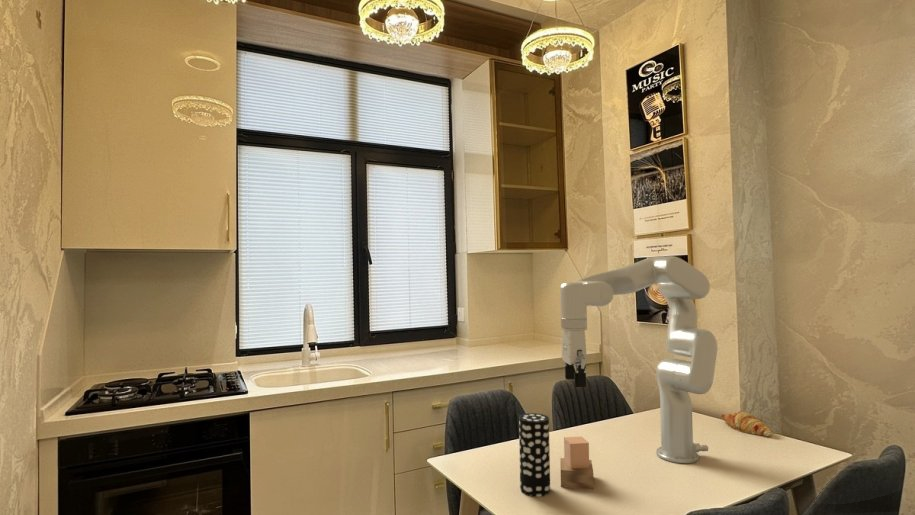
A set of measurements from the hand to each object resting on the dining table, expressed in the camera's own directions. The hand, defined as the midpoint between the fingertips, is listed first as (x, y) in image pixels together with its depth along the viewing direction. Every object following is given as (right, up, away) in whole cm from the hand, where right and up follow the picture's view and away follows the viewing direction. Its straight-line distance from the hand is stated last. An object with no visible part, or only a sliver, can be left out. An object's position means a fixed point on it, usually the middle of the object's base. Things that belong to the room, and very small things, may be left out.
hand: (575, 382), depth 141 cm
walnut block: (0, -29, -1) cm, 29 cm away
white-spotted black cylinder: (-13, -28, -7) cm, 32 cm away
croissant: (+75, -29, +42) cm, 91 cm away
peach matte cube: (0, -24, -1) cm, 24 cm away
